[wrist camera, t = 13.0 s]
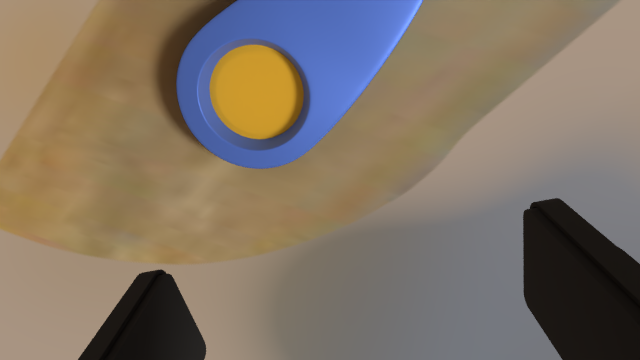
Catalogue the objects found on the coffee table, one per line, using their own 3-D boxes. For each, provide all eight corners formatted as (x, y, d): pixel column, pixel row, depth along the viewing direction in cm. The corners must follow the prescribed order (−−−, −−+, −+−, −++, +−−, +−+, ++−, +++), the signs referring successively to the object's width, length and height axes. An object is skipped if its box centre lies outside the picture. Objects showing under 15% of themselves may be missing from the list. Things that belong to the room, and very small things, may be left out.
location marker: (379, -143, 27) (156, 81, 34) (386, -163, 24) (140, 88, 31) (472, 9, 32) (257, 182, 38) (488, 8, 29) (252, 197, 35)
